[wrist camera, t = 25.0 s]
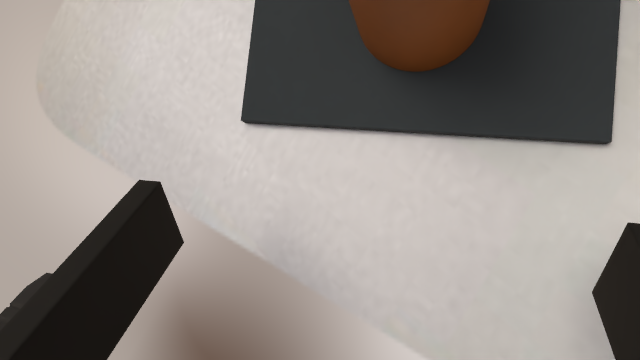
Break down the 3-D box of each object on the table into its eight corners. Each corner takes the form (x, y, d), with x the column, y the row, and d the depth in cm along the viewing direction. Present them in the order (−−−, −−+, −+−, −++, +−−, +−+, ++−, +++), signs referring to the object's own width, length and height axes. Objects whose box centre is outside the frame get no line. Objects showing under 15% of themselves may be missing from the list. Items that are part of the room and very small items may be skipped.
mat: (244, 123, 21) (240, 120, 20) (269, -86, 21) (266, -93, 21) (606, 144, 17) (612, 142, 16) (622, -112, 17) (628, -122, 17)
